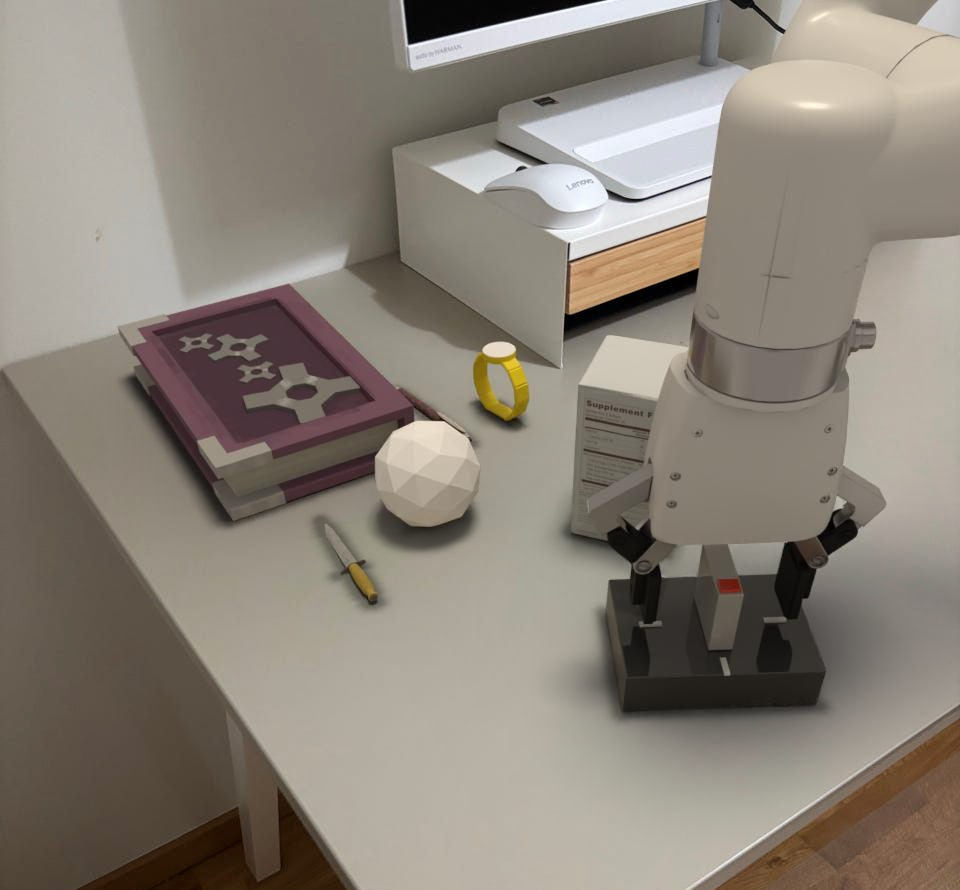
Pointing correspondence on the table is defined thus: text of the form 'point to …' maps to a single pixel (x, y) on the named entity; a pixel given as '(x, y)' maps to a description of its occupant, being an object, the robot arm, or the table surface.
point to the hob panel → (711, 651)
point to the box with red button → (718, 596)
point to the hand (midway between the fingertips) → (715, 605)
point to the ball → (427, 473)
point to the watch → (507, 358)
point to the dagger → (351, 564)
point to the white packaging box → (615, 420)
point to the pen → (431, 412)
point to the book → (266, 396)
